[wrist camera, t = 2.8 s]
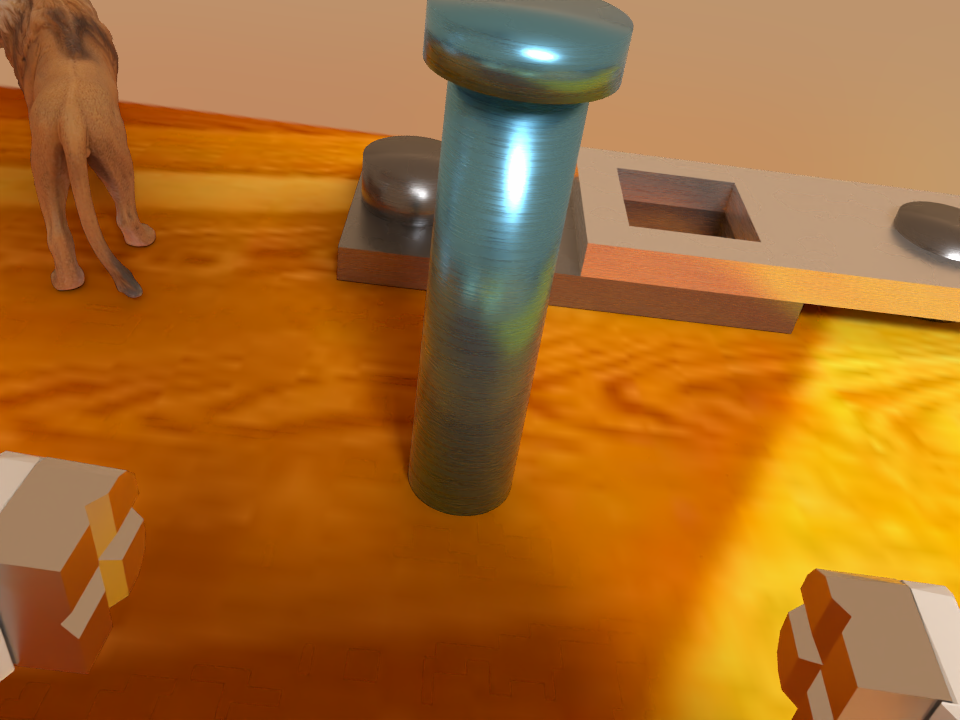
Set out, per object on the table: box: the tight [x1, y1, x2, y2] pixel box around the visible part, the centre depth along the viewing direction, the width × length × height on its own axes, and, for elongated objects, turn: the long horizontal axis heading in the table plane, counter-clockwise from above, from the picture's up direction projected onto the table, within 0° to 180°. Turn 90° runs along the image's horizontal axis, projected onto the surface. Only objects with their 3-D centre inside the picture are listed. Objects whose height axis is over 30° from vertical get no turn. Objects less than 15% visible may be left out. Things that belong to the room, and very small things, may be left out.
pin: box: [408, 0, 633, 516], centre depth 23 cm, size 4×4×14 cm
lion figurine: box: [0, 0, 156, 298], centre depth 34 cm, size 15×5×9 cm, turn 33°
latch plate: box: [337, 136, 960, 334], centre depth 38 cm, size 28×9×4 cm, turn 88°
